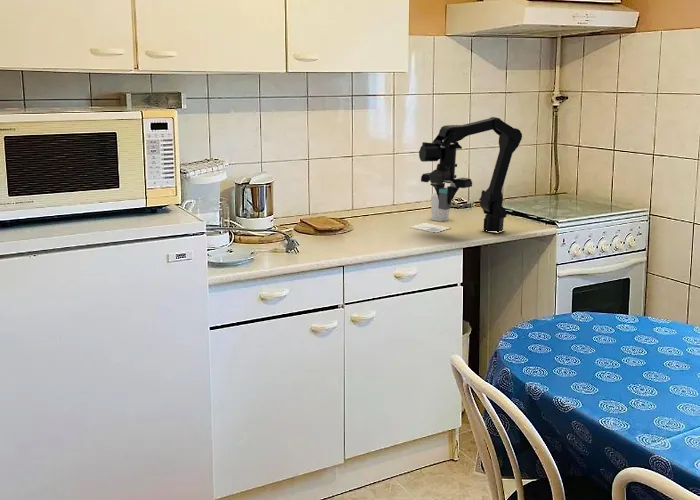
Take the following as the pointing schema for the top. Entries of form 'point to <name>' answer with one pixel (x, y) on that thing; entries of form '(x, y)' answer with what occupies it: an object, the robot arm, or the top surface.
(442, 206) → the cylinder
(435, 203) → the white cup
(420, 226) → the paper
